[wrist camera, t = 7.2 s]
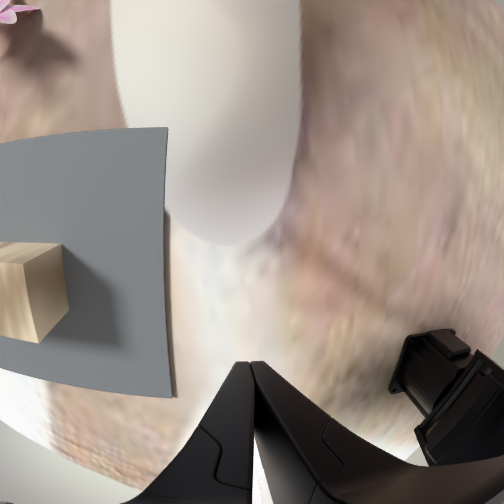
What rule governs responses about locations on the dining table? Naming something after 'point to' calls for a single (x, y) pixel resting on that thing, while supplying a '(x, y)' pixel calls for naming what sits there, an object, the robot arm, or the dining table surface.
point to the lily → (11, 11)
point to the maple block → (31, 289)
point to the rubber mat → (94, 255)
